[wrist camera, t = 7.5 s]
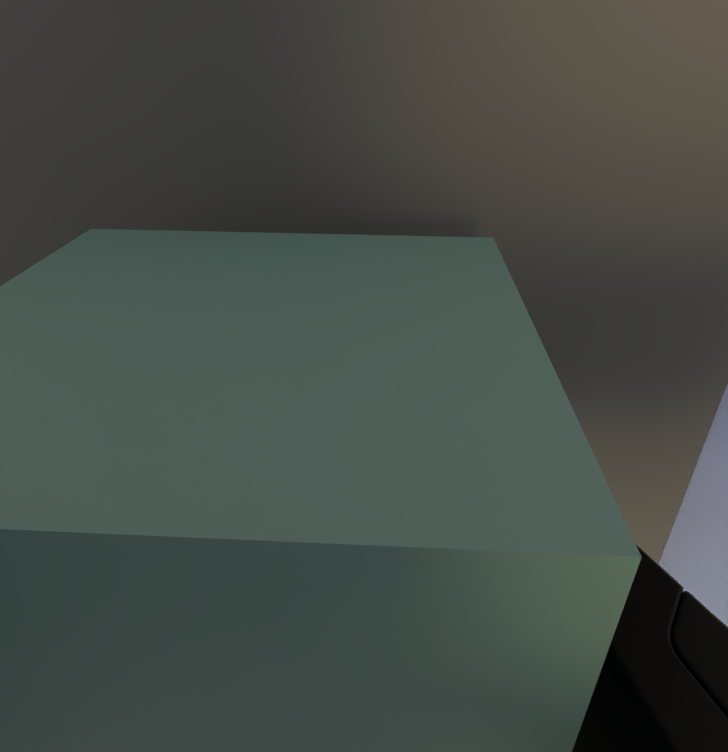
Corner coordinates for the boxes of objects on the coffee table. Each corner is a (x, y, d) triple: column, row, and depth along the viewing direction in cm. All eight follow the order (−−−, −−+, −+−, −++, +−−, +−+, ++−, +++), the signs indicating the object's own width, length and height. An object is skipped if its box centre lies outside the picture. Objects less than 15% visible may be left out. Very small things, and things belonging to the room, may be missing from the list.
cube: (492, 237, 8) (641, 555, 3) (457, 533, 12) (504, 939, 6) (91, 228, 9) (-357, 513, 4) (159, 521, 12) (-27, 902, 7)
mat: (891, -182, 8) (953, -209, 7) (616, 607, 16) (628, 641, 15) (-263, -172, 8) (-337, -195, 7) (45, 582, 16) (26, 612, 16)
